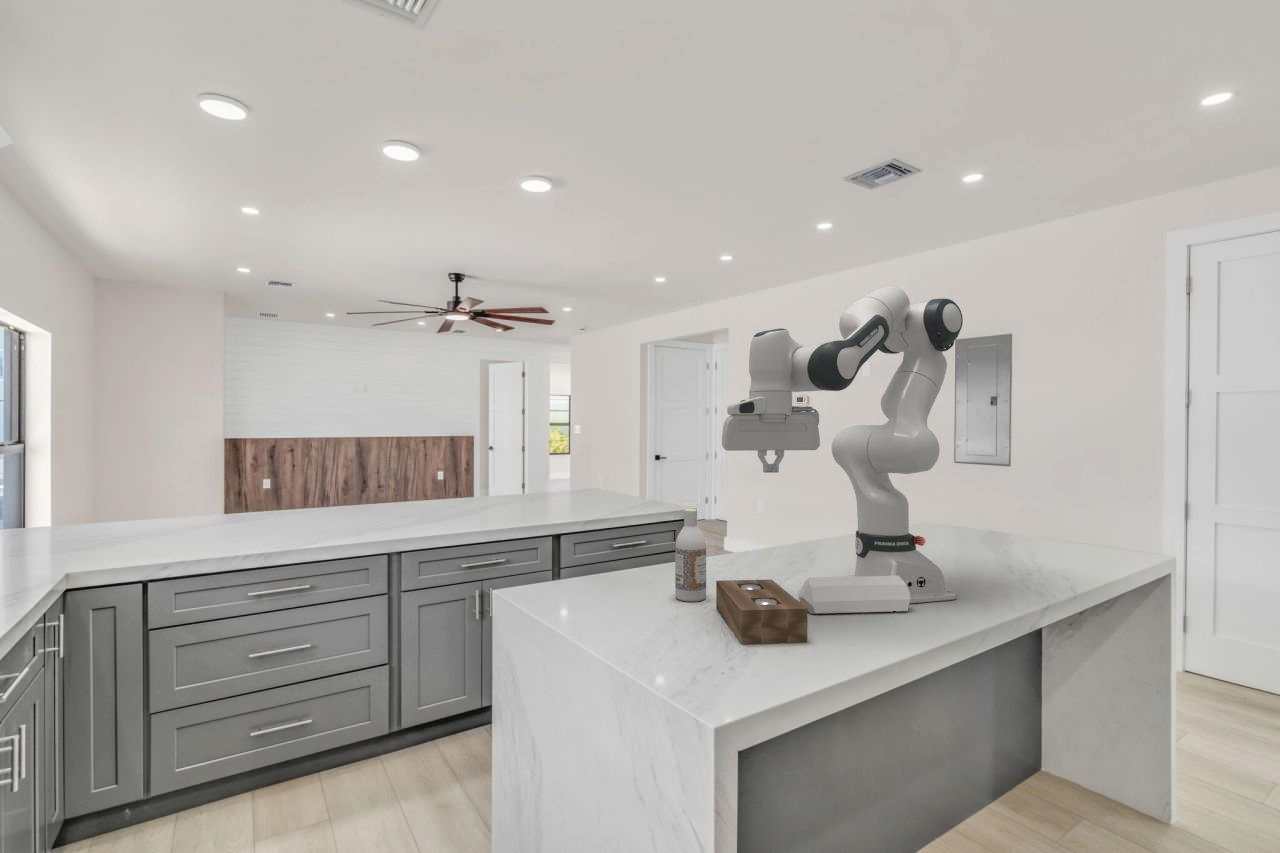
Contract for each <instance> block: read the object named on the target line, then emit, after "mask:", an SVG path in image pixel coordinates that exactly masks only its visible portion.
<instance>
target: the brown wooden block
mask: <svg viewBox="0 0 1280 853" xmlns="http://www.w3.org/2000/svg"><path fill="white" fill-rule="evenodd" d="M747 584H751V585H758V586H760V587H761V589H753V590H742V589H741V586H742V585H747ZM715 587H716V588H715V591H716V592H715V594H716V596H715V598H716V599H715V600H716V601H715V605H716V606H715V608H716V611H717V612H718V613H719V615H720V616H721V618H722V620H724V622H725V623H726V624H727V626H728V627H729V629H730V630H731V632H732V633H733V634H734V635H735V637H736V639H737V640H738V641H739V643H740V644H741V645H753V644H754V645H755V644H757V645H759V644H790V643H794V644H795V643H808V611H807V608H806V607H805V606H804V605H802V604H801V603H800V600H797V599H796V598H795V597H794V596H792V595H791V593H789V592H788V591H787V590H786V589H784V588H783V587H781V585H779V584H778V583H777V582H775V581H774V580H773V579H741V580H740V579H738V580H734V579H732V580H731V579H729V580H715ZM757 599H772V600H775V601H777V604H776V605H756V604H755V600H757Z"/></svg>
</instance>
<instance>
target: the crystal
mask: <svg viewBox="0 0 1280 853" xmlns="http://www.w3.org/2000/svg"><path fill="white" fill-rule="evenodd" d="M910 594H911V593H910V591H909V589H908V587H907V585H906V584H905V582H904V581H903V580H902V579H901V578H900V577H899V576H859V577H854V576H823V577H821V576H819V577H807V579H806V580H804V582H803V585H802V586H801V588H800V591H799V592H798V601H799V602H800V603H801V604H802V605H804V606H805V607H806V608H807V613H810V614H811V615H815V614H818V615H820V614H849V613H851V614H854V613H855V614H857V613H888V612H889V613H890V612H893V611H896V612H908V611H909V607H910V603H909V602H910Z"/></svg>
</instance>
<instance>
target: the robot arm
mask: <svg viewBox="0 0 1280 853" xmlns="http://www.w3.org/2000/svg"><path fill="white" fill-rule="evenodd" d="M963 318H964V317H963V314H962V310H961V308H960V307H959V305H958V304H957V303H956V301H954V300H952V299H950V298H933V299H930V300H928V301H927V300H926V301H923V302H918V303H917V302H916V303H913V304H911V302H910V297H909V296H908V294H907V293H906V292H905V291H904V290H903V289H901V288H900V287H897V286H893V285H887V286H884V287H879V288H877V289H875V290H873V291H870V292H868V293H867V294H864V295H863V296H861V297H860V298H858V299H857V300H854V301H853V302H852V303H851V304H850V305H849V306H847V307H846V308H845V310H844V311H842V314H841V315H840V317H839V324H838V325H839V332H840V334H841V337H842V338H843V340H838V339H837V340H833V341H828V342H825V343H821V344H813V345H807V346H804V345H803V344H800V343H799V342H797V341H796V340H795V339H793V337H792V336H791V335H790V331H789V329H787V328H774V329H769V330H764V331H758V332H757V333H755V334H754V335H753V336H752V339H751V341H750V348H749V356H748V357H749V358H748V373H749V377H750V387H749V390H748V395H749V396H748V399H743V400H740V401H739V402H735V403H732V404H729V405H728V406H727V407H726V411H727V415H729V416H728V417H726V418H725V420H724V423H723V427H722V434H721V435H722V436H721V445H722V448H723V449H724V450H725V451H727V452H728V451H730V452H731V451H734V452H737V451H739V452H741V451H747V452H748V451H750V452H751V451H752V452H753V451H755V452H756V451H757V457H758V459H759V460H760V462H761V464H762V472H763V473H764V474H766V473H767V474H770V473H773V474H774V473H775V474H776V473H779V472H780V464H781V462H782V460H783V458H784V457H785V451H817V450H819V449H818V448H820V446H821V439H820V431H819V429H820V428H819V424H820V413H819V411H818V410H817V409H815V408H814V407H813V406H807V405H806V406H798V405H797V406H796V405H793V393H801V392H803V393H804V392H818V391H819V392H820V391H829V392H839V391H843V390H845V389H847V388H848V387H849V386H851V384H852V383H853V381H854V379H855V378H856V376H857V374H858V373H859V371H860V369H861V367H862V366H863V365H864V364H865V363H866V362H867V361H868V360H869V359H870V358H871V357H873V355H874V354H875V353H876V352H877V351H878V350H879V351H880V352H881V353H884V354H890V355H891V354H892V355H895V354H899V353H903V358H902V362H901V363H900V365H899V366H898V368H897V369H896V371H895V372H894V374H893V376H892V378H891V379H890V382H889V383H888V385H887V387H886V389H885V391H884V393H883V394H882V396H881V398H880V407H881V411H882V413H883V415H884V416H885V417H886V418H887V419H888V420H887V421H886V423H884V424H880V425H879V424H878V425H877V424H876V425H874V424H873V425H871V424H870V425H866V424H864V425H862V424H861V425H853V426H849V427H846V428H843V429H840V430H839V431H837V433H835V435H834V436H833V438H832V443H831V453H832V454H831V455H832V457H833V459H834V462H836V464H837V465H839V467H841V468H842V470H844V472H845V473H846V475H847V476H848V478H849V480H850V482H851V485H852V487H853V490H854V494H855V500H856V508H857V509H856V510H857V511H856V512H857V530H856V531H855V541H854V542H855V546H854V547H855V555H856V563H855V569H854V575H853V577H859V576H899V577H900V578H901V579H902V580H903V581H904V582H905V584H906V585H907V587H908V589H909V591H910V593H911V594H910V602H909V604H917V603H918V604H919V603H928V602H941V601H951V600H952V601H953V600H956V599H957V595H956V592H955V591H954V590H952V589H951V588H948V587H946V585H945V579H944V578H945V577H944V575H943V572H942V570H941V568H940V567H939V566H938V565H937V564H936V563H934V562H933V561H932V560H931V559H929V558H928V557H926V556H925V555H924V554H923V553H922V552H920V551H919V550H917V546H916V545H918V546H920V547H922V546H925V544H926V538H925V537H923V536H920V535H914V534H912V533H910V531H909V528H910V527H909V522H910V520H909V518H910V517H909V513H910V512H909V502H908V499H907V497H906V496H905V495H904V494H903V493H902V492H901V491H899V489H897V488H896V487H895V486H894V485H893V483H892V481H891V479H890V476H889V474H901V475H902V474H903V475H904V474H905V475H909V474H915V473H924V472H928V471H930V470H931V469H932V468H934V466H935V465H936V463H937V461H938V459H939V456H940V452H941V451H940V450H941V449H940V443H939V440H938V437H937V436H936V434H935V433H934V432H933V431H932V430H931V429H930V428H929V426H928V418H929V416H930V412H931V410H932V408H933V406H934V404H935V402H936V399H937V397H938V395H939V393H940V391H941V389H942V386H943V383H944V380H945V376H946V373H947V367H948V362H947V359H946V357H945V355H944V352H946V351H949V350H950V349H952V347H953V346H954V344H955V341H956V340H957V338H958V337H959V334H960V332H961V331H962V327H963V324H964V323H963V320H964V319H963ZM768 451H774V456H776V458H775V459H774V461H773V463H768V461H767V459H766V457H767V456H768V455H767V454H768Z"/></svg>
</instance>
